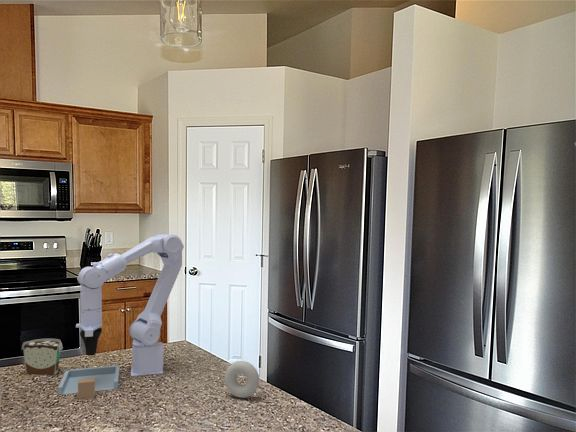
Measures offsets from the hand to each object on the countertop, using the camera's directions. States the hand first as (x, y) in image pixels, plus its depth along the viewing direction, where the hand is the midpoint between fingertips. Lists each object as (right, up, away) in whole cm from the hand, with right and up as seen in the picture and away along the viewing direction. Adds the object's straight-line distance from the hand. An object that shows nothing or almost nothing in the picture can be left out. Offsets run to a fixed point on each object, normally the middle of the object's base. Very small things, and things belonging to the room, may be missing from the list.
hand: (91, 354), depth 132 cm
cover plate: (+4, -9, -13) cm, 16 cm away
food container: (-18, -9, +9) cm, 22 cm away
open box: (0, -9, 0) cm, 9 cm away
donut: (+45, -9, -8) cm, 46 cm away
